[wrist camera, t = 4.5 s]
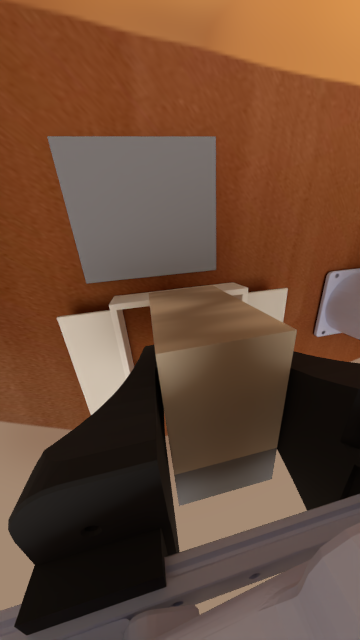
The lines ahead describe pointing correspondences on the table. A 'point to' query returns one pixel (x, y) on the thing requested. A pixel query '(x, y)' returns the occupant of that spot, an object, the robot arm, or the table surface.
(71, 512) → the robot arm
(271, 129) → the table surface
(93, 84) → the table surface
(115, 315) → the beige hollow rectangular frame
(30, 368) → the table surface
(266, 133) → the table surface
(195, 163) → the mat
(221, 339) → the block
